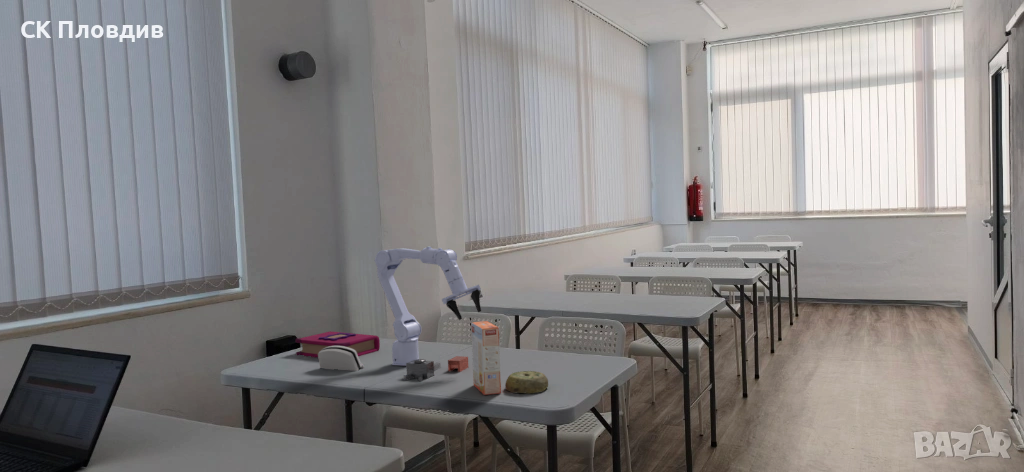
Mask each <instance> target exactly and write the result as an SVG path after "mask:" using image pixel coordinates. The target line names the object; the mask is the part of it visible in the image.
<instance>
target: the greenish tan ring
mask: <svg viewBox="0 0 1024 472" xmlns="http://www.w3.org/2000/svg"><path fill="white" fill-rule="evenodd" d="M548 386H549V379H548V377H547V376H546V375H545V374H544V372H541V371H534V370H522V371H516V372H512V373H511V374H509V375H508V377H507V379H506V381H505V389H506V390H507V391H508V392H510V393H513V394H514V393H515V394H517V393H519V394H520V393H521V394H527V395H528V394H529V395H530V394H537V393H542V392H544V391H545V390H547V388H548Z"/></svg>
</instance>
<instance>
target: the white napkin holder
mask: <svg viewBox="0 0 1024 472" xmlns="http://www.w3.org/2000/svg"><path fill="white" fill-rule="evenodd" d="M317 359H318V363H319V368H325V369H324V370H334V369H338V370H337V371H351V372H352V371H354V372H357V371H359V370H360V369H365V366H364V363H362V362H361V359H360V356H358V355H357V352H356V351H355V350H354V349H352V348H349V347H345V346H329V347H326V348H324V349H322V350H321V351H320V352H319V353H318V358H317Z"/></svg>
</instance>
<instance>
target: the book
mask: <svg viewBox="0 0 1024 472" xmlns="http://www.w3.org/2000/svg"><path fill="white" fill-rule="evenodd" d="M295 343H296V344H301V347H302V350H299V351H296V352H295V355H296V356H298V355H304V356H303V357H308V356H311V357H310V358H316V357H318V353H319V352H320V351H321V350H322V349H324V348H326V347H329V346H345V347H349V348H352V349H354V350H355V351H356V352H357V355H358V357H362V356H365V355H368V354H373V353H375V352H379V350H380V345H381V344H380V343H381V342H380V337H379V335H374V334H373V335H371V334H363V333H351V332H341V331H330V330H329V331H326V332H322V333H317V334H313V335H309V336H304V337H297V338H295Z"/></svg>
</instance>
